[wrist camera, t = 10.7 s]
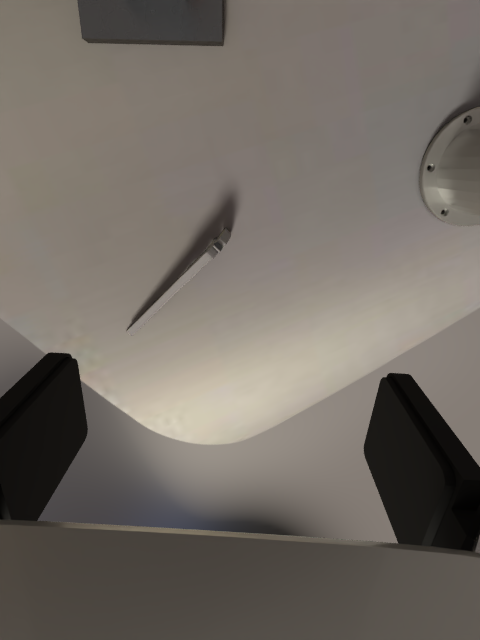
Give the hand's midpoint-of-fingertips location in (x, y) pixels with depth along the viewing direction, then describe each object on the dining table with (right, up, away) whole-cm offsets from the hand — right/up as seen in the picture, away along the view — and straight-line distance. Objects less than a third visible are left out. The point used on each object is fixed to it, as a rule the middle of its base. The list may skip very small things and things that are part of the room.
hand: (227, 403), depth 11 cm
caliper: (-8, +7, +37) cm, 39 cm away
